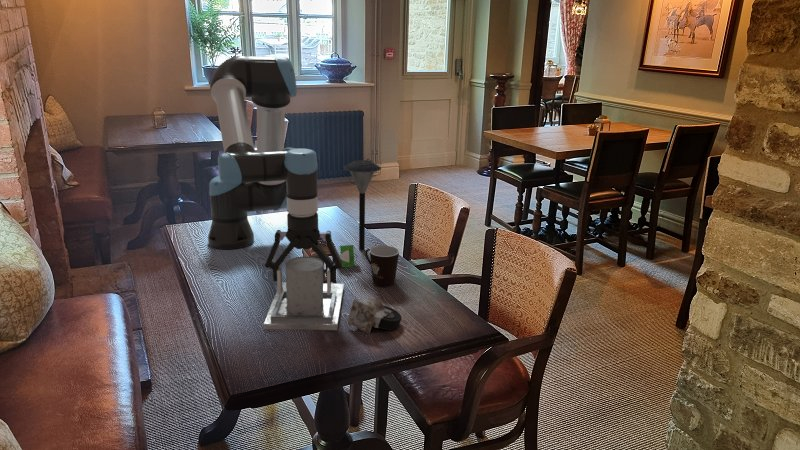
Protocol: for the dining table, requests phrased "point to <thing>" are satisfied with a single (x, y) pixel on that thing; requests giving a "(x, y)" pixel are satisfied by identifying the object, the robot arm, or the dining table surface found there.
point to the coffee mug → (383, 265)
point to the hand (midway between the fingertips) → (304, 292)
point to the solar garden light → (362, 190)
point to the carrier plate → (320, 321)
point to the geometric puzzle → (347, 255)
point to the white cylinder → (304, 285)
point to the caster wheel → (373, 316)
